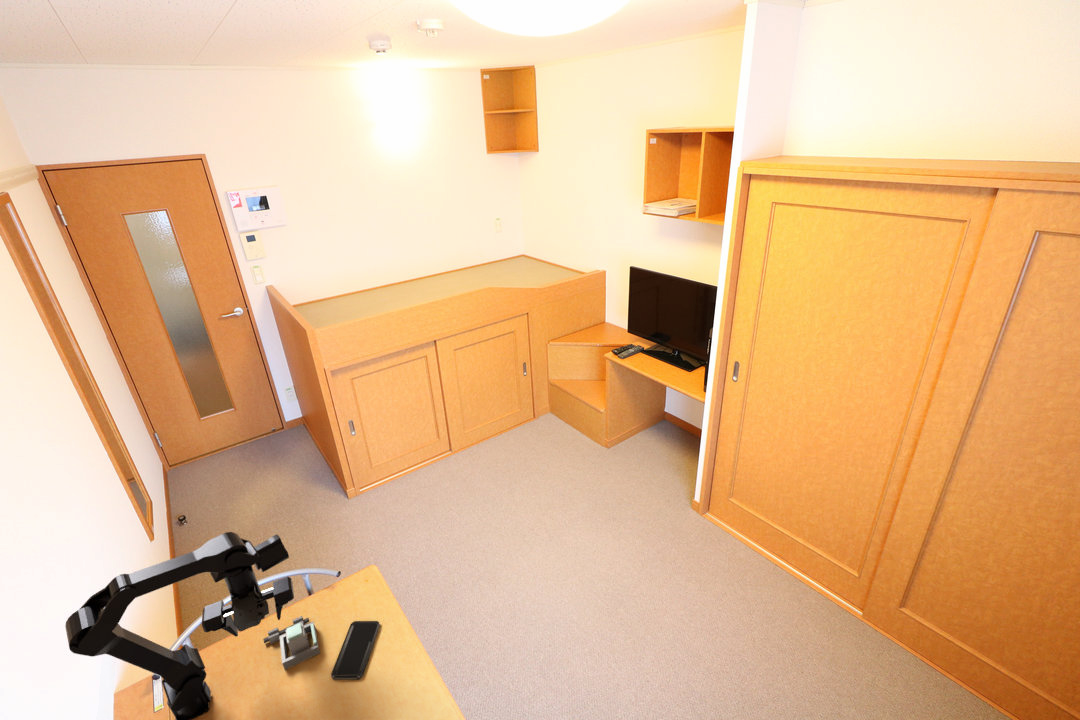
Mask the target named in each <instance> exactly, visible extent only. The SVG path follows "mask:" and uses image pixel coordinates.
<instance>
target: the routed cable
mask: <svg viewBox="0 0 1080 720" xmlns="http://www.w3.org/2000/svg"><path fill="white" fill-rule="evenodd" d="M292 623H293V624H291V625H290V626H288V627H285V628H283V629H281V630H280V629H279V627H276V628H272V629H271V630H268V631H267V635H268V636H266V637H264V638H262V639H263V643H264V644H266V643H268V642H269V643H270V645H272V644H273V643H276V642H280V637H279V636H281V635H284V634H286V630H287V628H289V627H291V626H294V625H296V624H298V623H303V625H306V624H309V623H310V618H309V617H306V618H304V616H303V615H301V616H299V617H296V618H294V619H292Z"/></svg>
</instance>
